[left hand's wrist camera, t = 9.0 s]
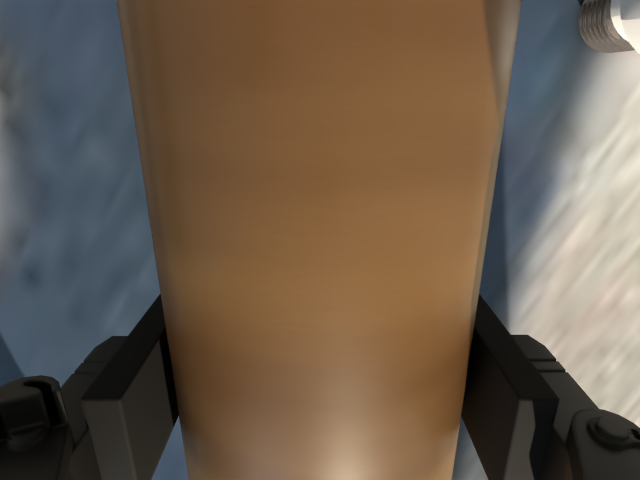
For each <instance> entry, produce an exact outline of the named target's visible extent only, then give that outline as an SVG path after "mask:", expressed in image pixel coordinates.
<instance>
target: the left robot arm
mask: <svg viewBox="0 0 640 480" xmlns="http://www.w3.org/2000/svg"><path fill="white" fill-rule="evenodd" d="M178 416H179V412H178V405H177V399H176V392H175V385H174V379H173V372H172V365H171V359H170V352H169V346H168V339H167V332H166V326H165V319H164V312H163V306H162V299H161V294H160V295H159V296H158V298H157V299H156V300H155V301H154V303H153V304H152V305H151V307H150V308H149V309H148V311H147V312H146V313H145V315H144V316H143V317H142V318H141V320H140V321H139V322H138V324H137V325H136V326H135V328H134V329H133V330H132V332H131V333H130V334H129V335H128V336H112V337H110V338H109V339H107V340H106V341H104V342H103V343H101V344H100V345H98V346H96V347H95V348H94V349H93V350H92V352H91V353H90V354H89V355H88V356H87V357H86V359H85V360H84V363H81V364H80V366H79V367H78V368H77V369H76V370H75V373H74V374H72V375H71V376H70V377H69V378H68V380H67V381H66V382H65V383H64V384H63V385H62V387H61V388H60V385H59V382H58V381H57V380H55V379H54V378H53V377H48V376H41V375H40V376H32V377H25V378H22V379H19V380H15V381H12V382H9V383H7V384H5V385H3V386H1V387H0V480H151V479H152V476H153V474H154V472H155V469H156V467H157V465H158V462H159V460H160V458H161V455H162V453H163V451H164V448H165V446H166V444H167V441H168V439H169V437H170V434H171V432H172V430H173V427H174V425H175V423H176V420H177V418H178ZM461 416H462V419H463V421H464V423H465V426H466V428H467V430H468V433H469V435H470V437H471V440H472V442H473V444H474V447H475V449H476V451H477V454H478V456H479V458H480V461H481V463H482V465H483V468H484V470H485V473H486V475H487V477H488V480H640V428H639V427H638V426H636V425H635V424H634V423H633V422H631V421H629V420H627V419H625V418H623V417H622V416H620V415H617V414H614V413H611V412H609V411H606V410H601V409H599V408H598V407H597V406H596V405H595V404H594V403H593V401H592V400H591V399H590V398H589V397H588V396H587V394H586V393H585V392H584V391H583V390H582V389H581V387H580V386H579V385H578V384H577V383H576V382H575V380H574V379H573V378H572V377H571V376H570V375H569V373H566V372H565V369H564V368H563V367H562V365H561V364H560V363H559V362H556V358H555V357H554V356H553V355H552V354H551V353H550V351H549V350H548V349H547V348H546V347H545V346H544V345H542V344H541V343H539V342H538V341H536V340H535V339H533V338H532V337H530V336H529V335H510V333H509V332H508V331H507V329H506V328H505V327H504V325H503V324H502V323H501V322H500V320H499V319H498V318H497V316H496V315H495V314H494V312H493V311H492V310H491V308H490V307H489V306H488V304H487V303H486V302H485V301H484V299H483V298H482V297H481V295H480V294H479V296H478V303H477V310H476V317H475V324H474V330H473V337H472V344H471V351H470V358H469V365H468V371H467V378H466V385H465V392H464V399H463V406H462V412H461Z"/></svg>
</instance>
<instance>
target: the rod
mask: <svg viewBox="0 0 640 480" xmlns="http://www.w3.org/2000/svg"><path fill="white" fill-rule="evenodd" d="M521 3H522V0H117V7H118V14H119V20H120V27H121V34H122V40H123V47H124V53H125V60H126V67H127V73H128V80H129V87H130V93H131V100H132V107H133V113H134V120H135V126H136V133H137V140H138V146H139V153H140V160H141V166H142V173H143V180H144V186H145V193H146V199H147V206H148V213H149V219H150V226H151V233H152V239H153V246H154V253H155V259H156V266H157V273H158V279H159V286H160V292H161V299H162V306H163V312H164V319H165V326H166V332H167V339H168V346H169V352H170V359H171V365H172V372H173V379H174V385H175V392H176V399H177V405H178V412H179V419H180V425H181V432H182V438H183V445H184V452H185V458H186V465H187V472H188V478H189V480H452V474H453V467H454V460H455V453H456V447H457V440H458V433H459V426H460V419H461V412H462V406H463V399H464V392H465V385H466V378H467V371H468V365H469V358H470V351H471V344H472V337H473V330H474V324H475V317H476V310H477V303H478V296H479V289H480V283H481V276H482V269H483V262H484V255H485V248H486V242H487V235H488V228H489V221H490V214H491V207H492V201H493V194H494V187H495V180H496V173H497V167H498V160H499V153H500V146H501V139H502V132H503V126H504V119H505V112H506V105H507V98H508V91H509V85H510V78H511V71H512V64H513V57H514V50H515V44H516V37H517V30H518V23H519V16H520V9H521Z"/></svg>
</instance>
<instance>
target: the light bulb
mask: <svg viewBox="0 0 640 480" xmlns="http://www.w3.org/2000/svg"><path fill="white" fill-rule="evenodd" d="M579 31H580V34H581V37H582V38H583V40H584V41H585V43H586V44H587V45H588V46H590V47H591V48H593V49H594V50H597V51H600V52H605V53H613V52H622V51H631V50H636V51H637V52H638V53H639V54H640V0H584V2H583V4H582V7H581V10H580V13H579Z"/></svg>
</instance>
